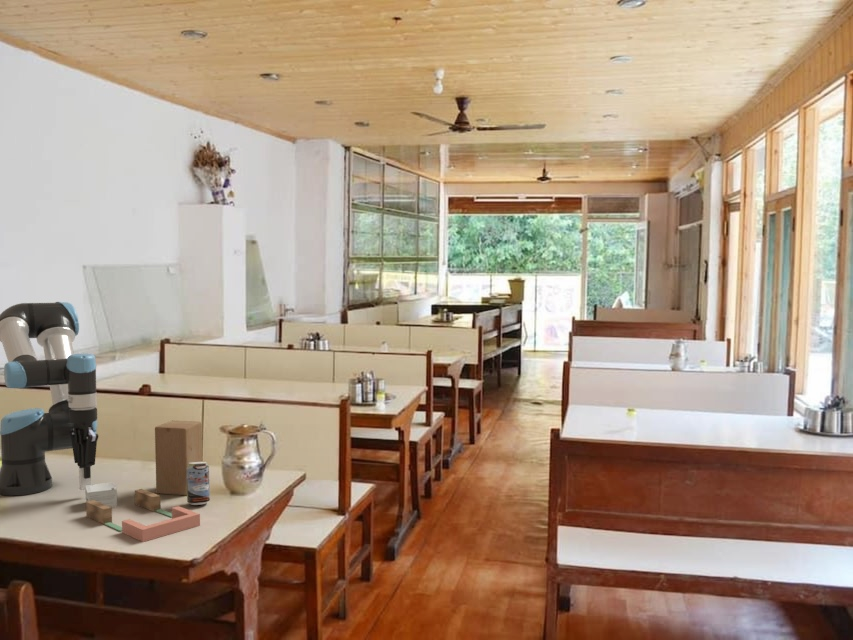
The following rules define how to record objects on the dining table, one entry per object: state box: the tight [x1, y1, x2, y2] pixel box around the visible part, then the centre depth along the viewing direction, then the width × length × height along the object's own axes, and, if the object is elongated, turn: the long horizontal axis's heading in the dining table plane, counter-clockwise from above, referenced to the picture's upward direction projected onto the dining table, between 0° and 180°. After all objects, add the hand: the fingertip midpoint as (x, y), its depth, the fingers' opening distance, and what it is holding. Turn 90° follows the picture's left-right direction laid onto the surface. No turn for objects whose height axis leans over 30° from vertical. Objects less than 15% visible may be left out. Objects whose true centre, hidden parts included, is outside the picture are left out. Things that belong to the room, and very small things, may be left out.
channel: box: [85, 488, 162, 526], centre depth 214 cm, size 10×16×4 cm, turn 139°
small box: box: [84, 482, 118, 508], centre depth 222 cm, size 8×8×5 cm
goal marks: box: [105, 508, 172, 533], centre depth 208 cm, size 8×16×1 cm, turn 139°
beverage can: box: [186, 461, 211, 506], centre depth 222 cm, size 6×7×12 cm
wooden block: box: [154, 419, 203, 496], centre depth 235 cm, size 10×10×20 cm
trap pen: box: [121, 506, 201, 543], centre depth 201 cm, size 10×16×3 cm, turn 139°
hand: (85, 488), depth 228 cm, fingers closed
